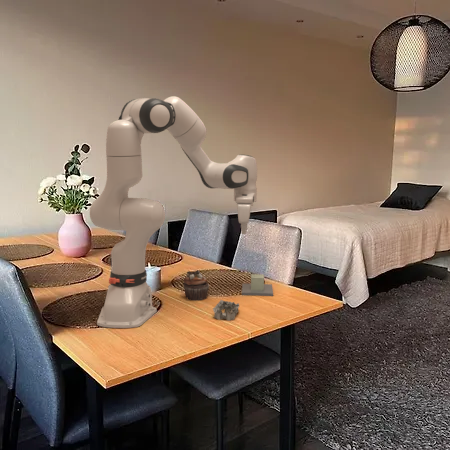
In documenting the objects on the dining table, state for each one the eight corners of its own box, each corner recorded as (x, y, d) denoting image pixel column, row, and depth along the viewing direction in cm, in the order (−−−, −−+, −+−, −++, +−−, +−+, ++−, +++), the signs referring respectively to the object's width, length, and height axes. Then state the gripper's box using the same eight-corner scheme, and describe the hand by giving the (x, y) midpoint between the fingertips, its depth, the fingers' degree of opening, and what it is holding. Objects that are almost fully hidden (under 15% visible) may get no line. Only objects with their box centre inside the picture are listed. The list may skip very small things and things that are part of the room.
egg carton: (233, 322, 149) (233, 310, 148) (211, 319, 151) (211, 307, 150) (241, 311, 159) (241, 299, 158) (220, 308, 161) (220, 297, 160)
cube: (263, 290, 178) (264, 278, 177) (250, 290, 179) (251, 277, 178) (263, 286, 183) (263, 274, 182) (250, 286, 183) (251, 274, 183)
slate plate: (273, 296, 175) (273, 293, 175) (241, 295, 175) (241, 292, 175) (271, 286, 187) (271, 284, 186) (242, 285, 187) (242, 283, 187)
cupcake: (191, 303, 166) (191, 276, 164) (179, 295, 174) (179, 270, 172) (213, 298, 171) (214, 272, 169) (201, 291, 179) (201, 266, 177)
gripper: (238, 194, 189) (237, 228, 191) (235, 198, 169) (234, 235, 171) (253, 195, 188) (252, 228, 190) (252, 199, 168) (251, 236, 170)
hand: (244, 232), depth 180 cm, fingers open, 8 cm apart
